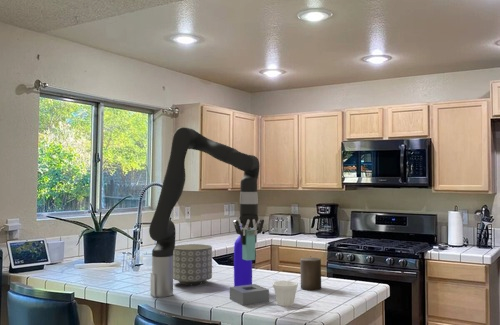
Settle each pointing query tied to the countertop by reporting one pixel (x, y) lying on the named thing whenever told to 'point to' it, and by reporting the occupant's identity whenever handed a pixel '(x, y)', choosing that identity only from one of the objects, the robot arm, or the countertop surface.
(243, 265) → the bottle
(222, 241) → the countertop surface
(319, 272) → the pillar candle
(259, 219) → the robot arm
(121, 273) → the countertop surface
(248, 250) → the plug
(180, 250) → the planter
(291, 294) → the cup
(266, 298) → the grey socket block
